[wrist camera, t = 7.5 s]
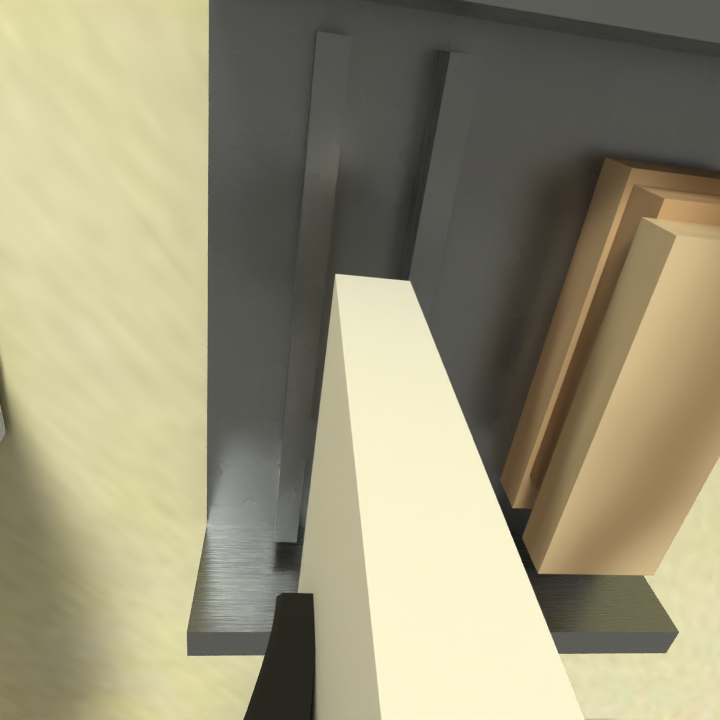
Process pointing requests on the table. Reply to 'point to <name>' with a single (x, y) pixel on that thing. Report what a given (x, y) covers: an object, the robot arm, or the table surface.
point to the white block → (413, 539)
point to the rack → (416, 241)
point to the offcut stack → (625, 378)
